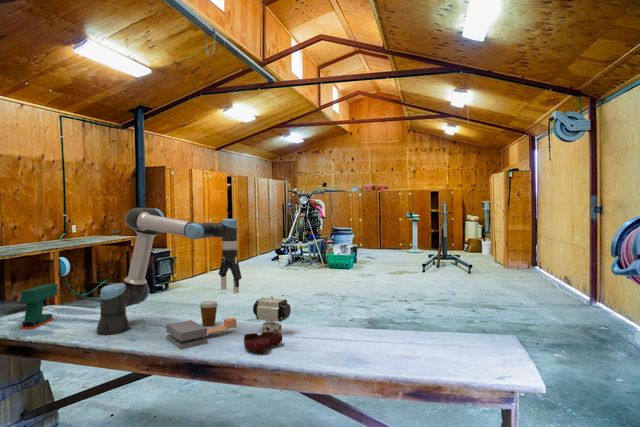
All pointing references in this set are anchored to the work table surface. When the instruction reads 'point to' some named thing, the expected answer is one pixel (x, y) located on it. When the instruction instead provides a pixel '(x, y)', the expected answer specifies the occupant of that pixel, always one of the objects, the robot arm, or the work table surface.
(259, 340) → the ashtray
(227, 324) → the orange stepped block
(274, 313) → the ball valve
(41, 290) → the power tool
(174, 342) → the block
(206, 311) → the disposable coffee cup
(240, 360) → the work table surface
